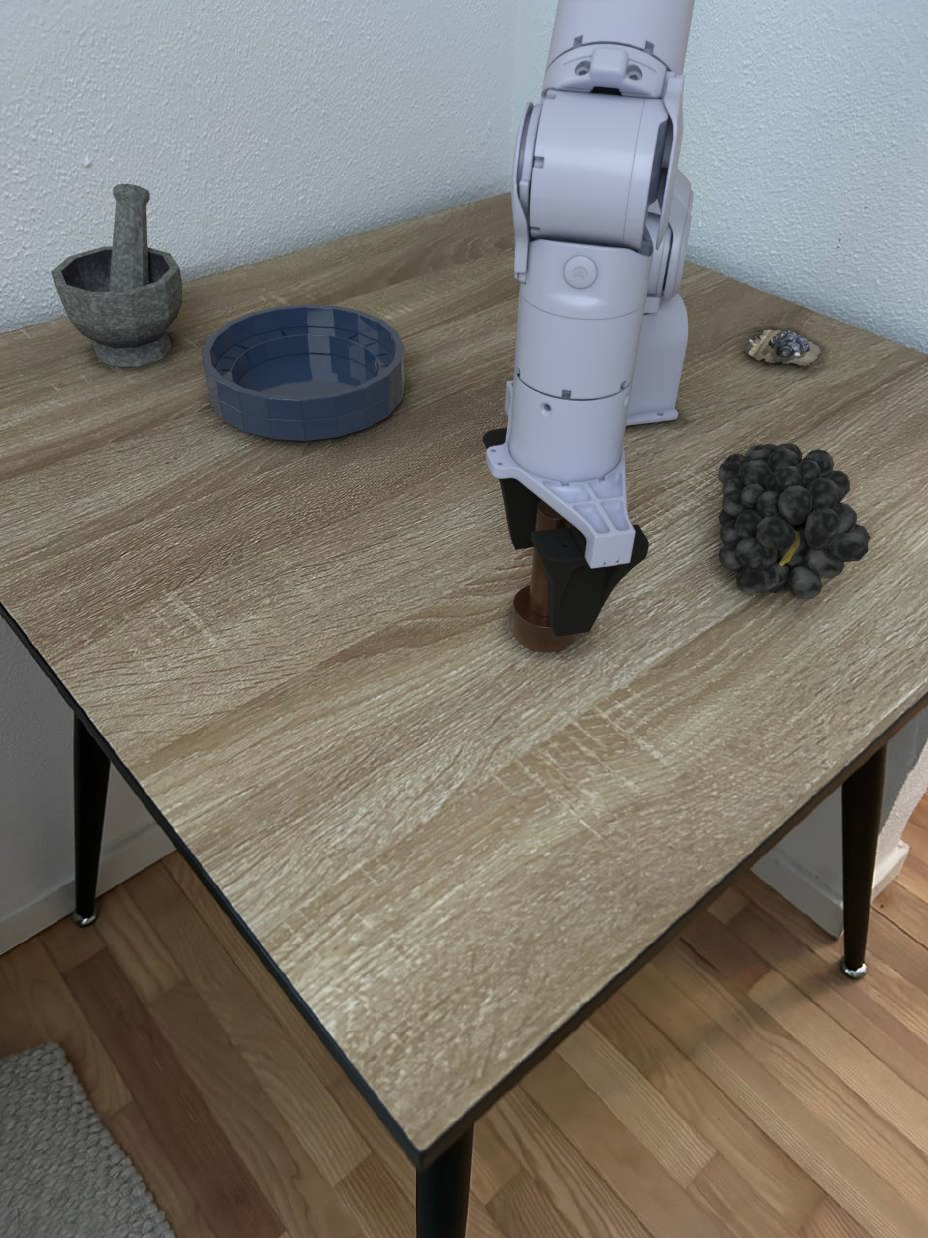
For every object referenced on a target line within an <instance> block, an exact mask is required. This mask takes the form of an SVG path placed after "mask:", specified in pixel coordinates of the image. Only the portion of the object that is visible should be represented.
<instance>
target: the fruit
mask: <svg viewBox="0 0 928 1238" xmlns="http://www.w3.org/2000/svg"><path fill="white" fill-rule="evenodd" d="M834 467H835V462H834V458H833V456H832V455H831V454H830V452H829V451H827V450H823V449H819V448H818V449H813V450H810V451H809V452H808V453H807V454H806V455H805V456H804V457H803V452H802V451H801V449H800V448H799V446H798V445H797V444H795V443H793V442H786V443H781V444H778V445H776V444H774V443H766V444H757V445H753V446H750V447H749V448H748V449H747V450H746V451H745V452H744V454H742V453H732V454H730V455H728V456H727V457H726V458H725V460H724V462H722V463H721V464H720V465H719V468H718V472H717V478H718V481H719V482H721V483H722V494H723V495H722V496H723V498H722V501H721V505H722V509H721V510H720V512H719V514H718V516H717V518H718V521H719V525H720V526H721V528H720V530H719V538H720V540H721V542H722V544H723V546H721V547H720V549H719V553H718V555H717V556H718V557H717V558H718V561H719V563H720V565H721V566H722V567H723V568H725V569H726V570H727V571H728V572H729V571H730V572H733V573H735V574H736V577H735V582H736V585H737V588H738V589H739V590H740V591H741V592H742V593H744V594H746V595H750V596H752V595H759V594H766V593H767V592H772V593H773V594H777V593H779V592H781V591H784V590H786V589H789V591H790V592H791V593H792V594H793V596H794V597H795V598H796V599H801V600H806V601H807V600H811V599H814V598H815V597H817V596H818V595H819V594H820V593H821V591H822V589H823V583H822V579H824V580H827V579H828V580H831V579H833V578H836V577H837V576H839V575H842V573H843V571H844V568H845V563H849V562H851V563H853V562H861V560H862V559H863V558H864V557H865V555H867V554H868V553H869V543H870V541H871V535H870V534H869V531H868V530H867V527H866V526H864V525H860V524H857V523H858V513H857V512H856V511H855V509H854V508H853V507H852V506H850V505H849V503H843V502H842V500H843V499H844V498H845V497H846V496H847V495H848V493H849V492H850V491H851V481H850V479H849V477H848V474H846V473H845V472H843V471H842V470H835V469H834ZM788 566H791V567H793V568H792V569H790V567H788ZM821 578H822V579H821Z"/></svg>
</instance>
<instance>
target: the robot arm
mask: <svg viewBox="0 0 928 1238" xmlns="http://www.w3.org/2000/svg"><path fill="white" fill-rule="evenodd" d="M695 1H696V0H558V1H557V6H556V12H555V17H554V22H553V27H552V31H551V32H552V33H551V38H550V44H549V50H548V54H547V60H546V65H545V71H544V76H543V81H542V86H541V91H540V97H539V102H538V103H536V104H535V105H534V103H533V102H532V101H527V102H526V104H525V105H524V108H523V111H522V114H521V118H520V121H519V125H518V127H517V128H518V129H517V134H516V138H515V145H514V151H513V160H512V172H511V189H510V191H511V192H510V195H511V196H510V197H511V198H510V200H511V212H512V224H513V225H512V226H513V233H514V260H513V272H514V275H513V277H514V280H518V281H519V282H520V285H519V293H518V306H517V319H516V335H515V349H514V364H513V365H514V366H513V367H514V370H513V380H507V381H506V382H505V383H506V384H505V385H506V386H505V401H504V412H505V414H506V416H507V418H508V419H507V427H503V428H494V429H491V430H489V431H487V432H485V433H484V434H483V436H482V443H483V445H484V447H485V463H486V466H487V467H488V470H489V471H490V474H491V476H493V477H494V478H496V479H498V482H499V485H500V489H501V494H502V499H503V504H504V511H505V518H506V523H507V529H508V534H509V538H510V541H511V544H512V546H513V548H514V551H518V550H525V549H531V548H534V547H535V549H536V551H537V553H538V555H539V557H540V559H541V561H542V563H543V567H544V571H545V575H546V581H547V590H548V613H549V619H550V624H551V627H552V630H553V632H554V634H555V636H557V637H561V636H567V635H573V634H578V635H579V634H584V633H589V632H590V631H591V630H592V628H593V626H594V624H595V623H596V621H597V619H598V617H599V615H600V613H601V612H602V609H603V608H604V606H605V604H606V602H607V600H608V599H609V597H610V596H611V594H612V593H613V591H614V590H615V588H616V587H617V585H618V584H619V583H620V582H621V581H622V580H623V579H624V578H625V577H626V576H627V575H628V574H629V573H631V571H632V570H634V568H635V567H637V566H638V565H639V564H641V563H642V562H644V560H645V559H646V558H647V556H648V553H649V548H650V542H649V539H648V538H647V536H646V534H645V533H644V532H643V530H642V528H641V527H640V525H639V524H638V523H636V524H633V523H632V521H631V519H630V516H629V512H628V511H629V509H628V496H627V495H628V494H627V472H626V471H627V469H626V453H625V448H624V440H625V433H626V427H627V426H635V425H643V424H651V423H659V422H669V421H675V420H677V419H678V417H679V412H678V410H677V409H676V404H677V399H678V395H679V394H678V393H679V388H680V384H681V380H682V379H681V378H682V375H683V368H684V363H685V359H686V352H687V348H688V343H689V342H688V341H689V317H688V312H687V307H686V304H685V301H684V300H683V298H682V296H681V294H680V293H679V292H680V288H681V284H682V277H683V272H684V267H685V262H686V255H687V251H688V250H687V249H688V245H689V237H690V233H691V227H692V226H691V225H692V217H693V216H692V211H693V203H694V196H695V192H694V190H693V189H692V182H691V181H690V179H689V178H688V177H687V176H686V175H685V174H684V173H683V172H682V171H681V170H680V169H679V168H678V167H679V160H680V155H681V150H682V149H681V148H682V142H683V137H684V129H685V128H684V89H685V87H684V86H685V79H686V75H684V68H685V62H686V57H687V50H688V46H689V45H688V44H689V38H690V33H691V27H692V21H693V15H694V8H695ZM541 500H543V501H544V502H545V503H547V504H548V505H549V506H550V507H552V508H553V509H554V510H555V511H557V512H558V513H559V514H560V515H561V516H563V517H564V518H565V519H566V520H568V521H569V522H570V523H571V525H570V528H568V527H564V528H556V529H549V530H542V531H535V529H536V518H537V508H538V503H539V502H540V501H541Z"/></svg>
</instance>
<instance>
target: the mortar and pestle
mask: <svg viewBox="0 0 928 1238" xmlns="http://www.w3.org/2000/svg"><path fill="white" fill-rule="evenodd" d="M112 191H113V192H112V195H113V198H114V199H115V213H114V225H113V234H112V235H113V237H112V246H111V245H110V246H108V245H107V246H101V247H98V248H97V247H96V248H94V249H90V250H86V251H83V252H80V253H76V254H72V255H69V256H67V258H65V260H63V261H62V262H61V263H60V264H58V265H57V266H56V267H55V268H54V269H53V270H52V271H51V276H52V280H53V284H54V288H55V290H56V293H57V295H58V297H59V301H60V302H61V304H62V307H63V309H64V311H65V314H66V316H67V318H68V320H69V322H70V323H71V324H72V325H73V327H75V329H76V330H77V331H78V332H79V333H80V334H81V335H82V336H84V337H86V338H87V339H90V340H91V341H92V343H93V348H94V349H93V350H94V352H95V355H96V357H97V359H98V361H99V362H100V363H104V364H106V365H108V366H109V365H110V366H113V367H115V368H133V367H144V366H147V365H149V364H153V363H154V362H157V361H160V360H163V359H164V358H165V357H166V355H167V354H168V353H169V352H170V350H172V343H171V339H170V337H169V335H168V333H167V330H168V329H169V327H170V326H171V325H172V324H173V323H174V322H175V320H176V319H178V315H179V313H180V309H181V306H182V304H183V280H182V274H181V269H180V268H181V267H180V266H179V265H178V263H177V261H176V260H175V258H174V257H173V255H172V254H171V253H170V252H166V251H163V250H159V249H156V248H152V247H148V224H147V223H148V221H147V220H148V219H147V205H148V203H149V202H150V201H151V197H150V196H151V195H150V194H151V193H150V191H149V190H148V189H146V188H144V187H142V186H140V185H136V184H133V183H118V184H116V185H114V186H113V189H112Z"/></svg>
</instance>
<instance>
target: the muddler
mask: <svg viewBox="0 0 928 1238" xmlns="http://www.w3.org/2000/svg"><path fill="white" fill-rule="evenodd" d="M570 525H571V523H570V522H569V521H568V520H566V519H565V518H564V517H563V516H561V515H560V514H559V513H558V512H557V511H555V510H554V509H553V508H552V507H550V506H549V505H548V504H547V503H545V502H544V501H543V500H541V501H540V502H539V503H538V508H537V518H536V529H535V531H542V530H549V529H556V528H564V527H568V528H570ZM532 551H533V552H532V562H531V572H530V582H529V583H530V584H527V585H525V586H523V587H522V588H520V589H519V590H518V591H517V592H516V593H515V595H514V597H513V601H512V609H511V610H512V612H511V621H510V622H511V623H510V628H511V629H510V630H511V634H512V635H513V637H514V639H515V640H516V641H517V642H518V643H519V644H520V645H521V646H523V647H525V648H526V649H529V650H532V651H534V652H540V653H555V652H559V651H562V650H565V649H567V648H569V647H570V646H571V645H572V644H574V642H575V641H576V640H577V637H578V635H579V634H573V635H567V636H561V637H557V636H555V634H554V632H553V630H552V627H551V624H550V619H549V613H548V590H547V581H546V575H545V571H544V567H543V563H542V561H541V559H540V557H539V555H538V553H537V551H536V549H535V547H533V550H532Z"/></svg>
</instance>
